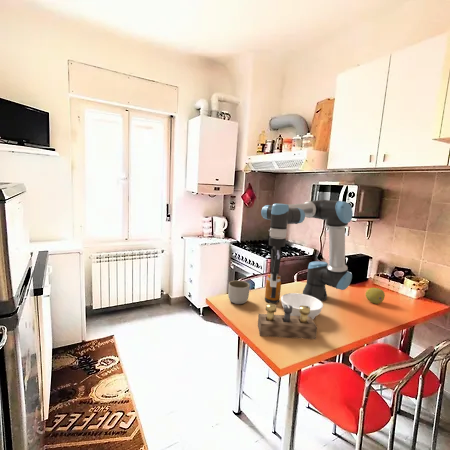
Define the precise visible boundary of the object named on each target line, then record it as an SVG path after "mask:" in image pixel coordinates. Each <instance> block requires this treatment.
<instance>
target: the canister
mask: <svg viewBox="0 0 450 450" xmlns="http://www.w3.org/2000/svg"><path fill="white" fill-rule="evenodd" d="M270 280H271V273H270V274H268V275H267V279H266V282H265V290H264V291H265V293H264V301H266V302H268V303H272V304H277V303H280V300H281V290H282V281H281V275H280V274H277V285H276V287H270Z"/></svg>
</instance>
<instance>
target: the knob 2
mask: <svg viewBox="0 0 450 450" xmlns="http://www.w3.org/2000/svg"><path fill="white" fill-rule="evenodd" d="M299 312H300V313H301V316H300V323H306V324H307V317H308V315H309V314H310V307H308V306H300V309H299Z"/></svg>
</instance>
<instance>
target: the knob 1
mask: <svg viewBox="0 0 450 450" xmlns="http://www.w3.org/2000/svg"><path fill="white" fill-rule="evenodd" d="M265 311H266V312H267V313H266V314H267V321H273V320H274V315H275V313H276V312H277V305H276V303H270V302H268V303H266V305H265Z"/></svg>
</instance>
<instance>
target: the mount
mask: <svg viewBox="0 0 450 450" xmlns="http://www.w3.org/2000/svg"><path fill="white" fill-rule="evenodd" d="M257 329H258V332H259V333H258V334H259V336H260V337H271V338H273V337H274V338H275V337H276V338H290V339H302V338H303V339H305V340H317V334H318V332H317V331H318V327H317V325H316V323H315V321H314V319H313V320H312V318H311V317H307V324H306V323H300V316H290V322H284V314H283V315H282V314H274V320H273V321H267V313H258V319H257ZM303 339H302V340H303Z"/></svg>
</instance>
